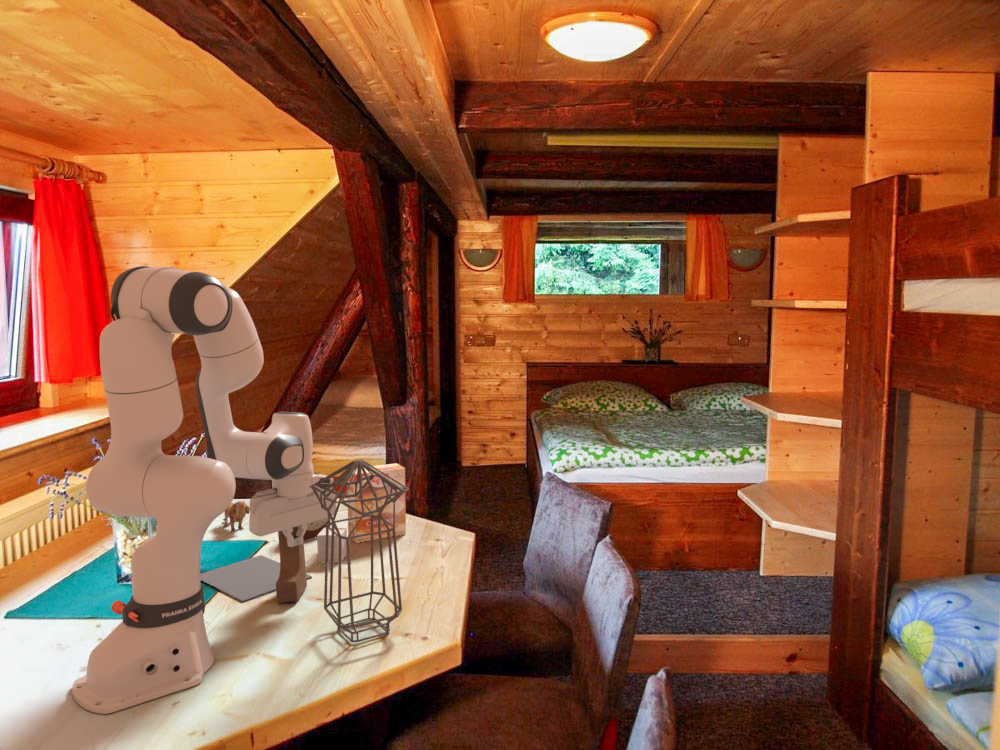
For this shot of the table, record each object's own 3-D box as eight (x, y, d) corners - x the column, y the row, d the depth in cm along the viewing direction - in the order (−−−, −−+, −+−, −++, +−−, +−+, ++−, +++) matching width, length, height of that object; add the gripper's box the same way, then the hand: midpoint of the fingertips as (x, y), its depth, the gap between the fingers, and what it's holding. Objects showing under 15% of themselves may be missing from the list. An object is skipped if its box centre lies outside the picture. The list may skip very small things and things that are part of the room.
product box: (347, 554, 184) (347, 527, 184) (341, 563, 178) (340, 535, 178) (324, 554, 185) (324, 527, 184) (317, 563, 179) (316, 534, 178)
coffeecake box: (355, 544, 193) (354, 473, 190) (347, 536, 199) (345, 468, 197) (406, 534, 200) (405, 467, 198) (397, 527, 206) (396, 462, 204)
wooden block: (297, 601, 154) (291, 520, 153) (276, 603, 154) (270, 522, 153) (307, 586, 163) (301, 510, 162) (287, 588, 163) (281, 511, 162)
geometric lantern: (414, 637, 139) (412, 462, 136) (337, 658, 131) (332, 473, 127) (383, 608, 153) (380, 448, 149) (311, 625, 144) (306, 457, 140)
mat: (242, 602, 155) (242, 600, 155) (193, 577, 169) (193, 575, 169) (311, 577, 169) (311, 576, 169) (261, 556, 183) (261, 555, 183)
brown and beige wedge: (319, 527, 206) (318, 494, 205) (333, 531, 203) (332, 497, 202) (284, 539, 197) (283, 504, 195) (298, 543, 193) (297, 507, 192)
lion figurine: (254, 531, 203) (253, 500, 202) (236, 535, 200) (235, 504, 199) (231, 520, 214) (230, 491, 213) (214, 524, 210) (212, 494, 209)
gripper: (258, 496, 145) (260, 561, 147) (339, 477, 161) (341, 536, 162) (241, 491, 149) (244, 554, 151) (322, 472, 165) (324, 530, 166)
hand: (295, 545), depth 156 cm, fingers closed
